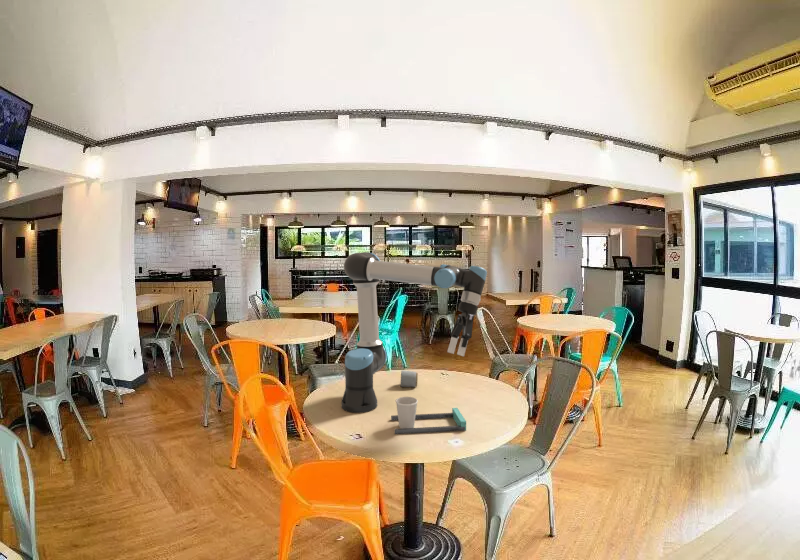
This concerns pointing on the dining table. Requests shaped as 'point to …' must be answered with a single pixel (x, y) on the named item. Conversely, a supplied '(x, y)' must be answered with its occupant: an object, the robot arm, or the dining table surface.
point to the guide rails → (428, 429)
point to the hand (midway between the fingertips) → (455, 354)
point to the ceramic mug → (409, 378)
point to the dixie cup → (406, 411)
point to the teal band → (458, 418)
